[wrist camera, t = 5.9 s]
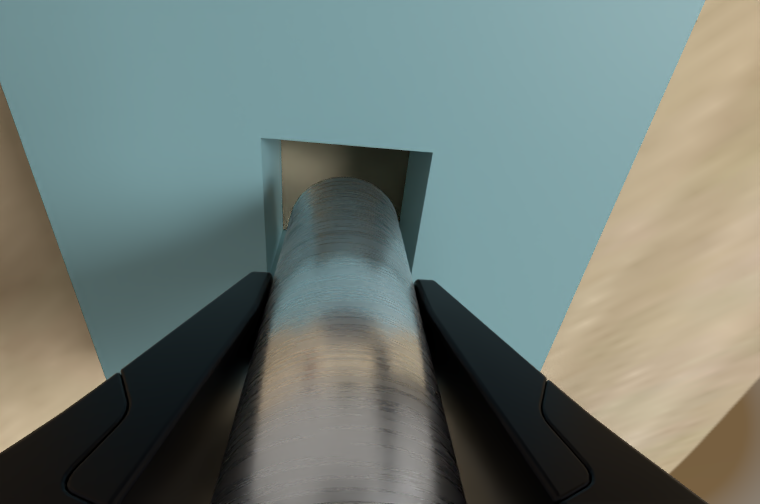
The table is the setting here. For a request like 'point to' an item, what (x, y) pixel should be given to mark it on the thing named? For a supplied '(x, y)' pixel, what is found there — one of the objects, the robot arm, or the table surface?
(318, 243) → the steel pin
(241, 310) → the robot arm
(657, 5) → the teal square hole block
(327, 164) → the table surface
